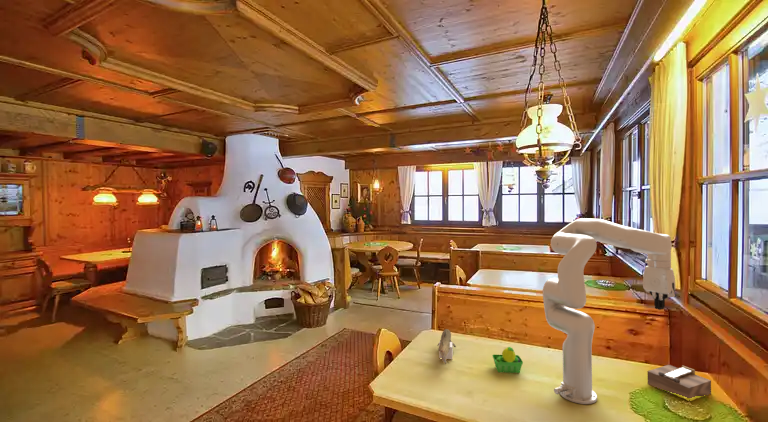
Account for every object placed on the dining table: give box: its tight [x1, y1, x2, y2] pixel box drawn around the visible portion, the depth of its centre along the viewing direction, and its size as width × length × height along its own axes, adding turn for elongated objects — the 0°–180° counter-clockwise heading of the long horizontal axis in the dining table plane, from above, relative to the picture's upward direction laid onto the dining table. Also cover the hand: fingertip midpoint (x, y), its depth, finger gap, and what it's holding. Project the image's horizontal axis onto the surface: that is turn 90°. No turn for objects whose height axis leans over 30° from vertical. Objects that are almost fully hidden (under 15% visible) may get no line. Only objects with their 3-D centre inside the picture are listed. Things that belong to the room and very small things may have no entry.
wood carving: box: [437, 328, 457, 364], centre depth 166 cm, size 9×35×11 cm, turn 168°
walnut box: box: [647, 364, 712, 398], centre depth 135 cm, size 13×14×7 cm
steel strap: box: [664, 366, 691, 380], centre depth 135 cm, size 11×3×1 cm, turn 111°
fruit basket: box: [492, 346, 524, 374], centre depth 153 cm, size 11×9×11 cm
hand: (659, 308), depth 146 cm, fingers closed
